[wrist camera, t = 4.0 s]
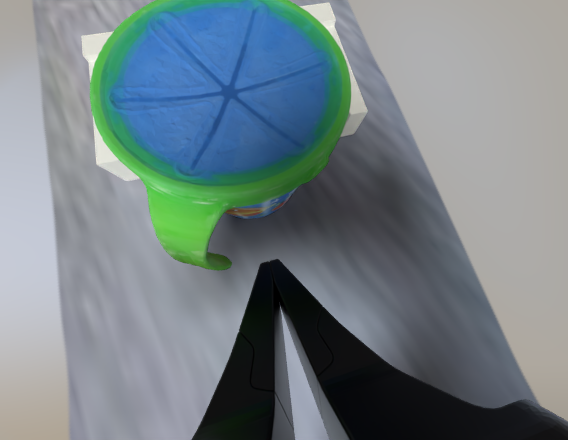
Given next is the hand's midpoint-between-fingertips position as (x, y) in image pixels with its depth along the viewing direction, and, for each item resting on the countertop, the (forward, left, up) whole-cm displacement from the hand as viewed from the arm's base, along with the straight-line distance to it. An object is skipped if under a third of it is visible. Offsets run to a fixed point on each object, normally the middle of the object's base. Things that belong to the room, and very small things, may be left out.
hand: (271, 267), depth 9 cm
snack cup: (+8, 0, -7) cm, 11 cm away
